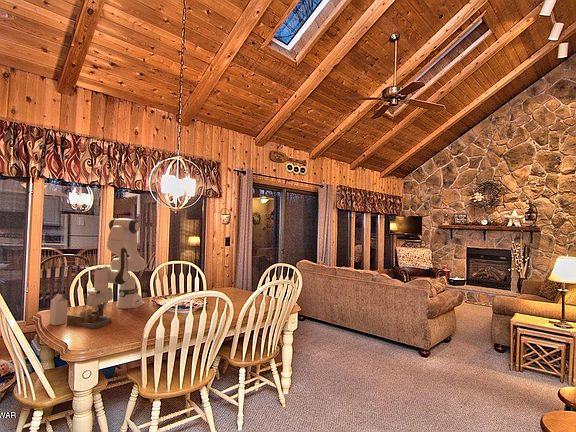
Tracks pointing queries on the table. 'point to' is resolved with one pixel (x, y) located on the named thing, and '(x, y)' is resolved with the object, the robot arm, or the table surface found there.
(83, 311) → the birch ball
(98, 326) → the tray
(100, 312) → the scraper
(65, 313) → the milk carton
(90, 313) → the birch ball
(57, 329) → the table surface
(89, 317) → the channel block
